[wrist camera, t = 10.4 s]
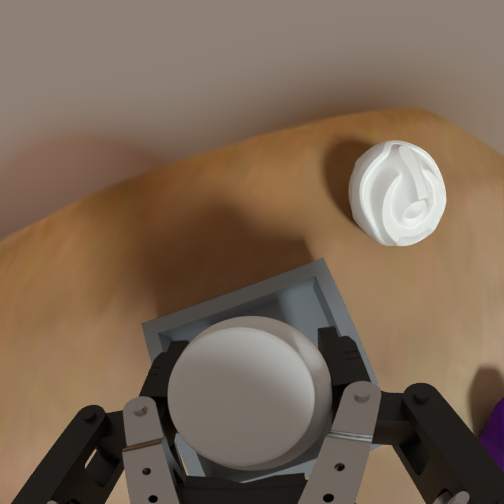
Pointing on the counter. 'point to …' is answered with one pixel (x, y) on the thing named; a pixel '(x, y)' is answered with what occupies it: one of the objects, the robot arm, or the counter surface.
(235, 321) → the supplement bottle
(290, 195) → the counter surface
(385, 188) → the white swirled ball
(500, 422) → the crystal
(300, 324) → the tray
